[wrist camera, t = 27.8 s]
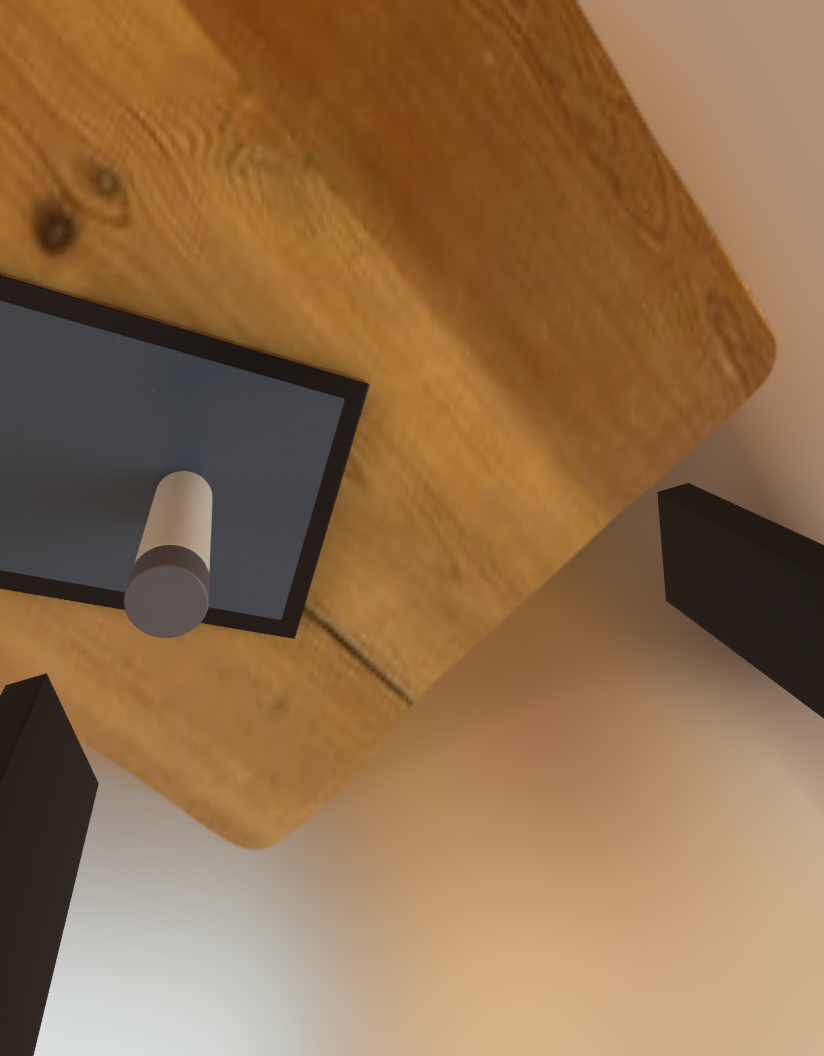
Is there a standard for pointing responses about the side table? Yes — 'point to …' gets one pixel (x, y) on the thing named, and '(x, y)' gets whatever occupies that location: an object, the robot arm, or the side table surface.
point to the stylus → (173, 559)
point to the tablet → (161, 453)
